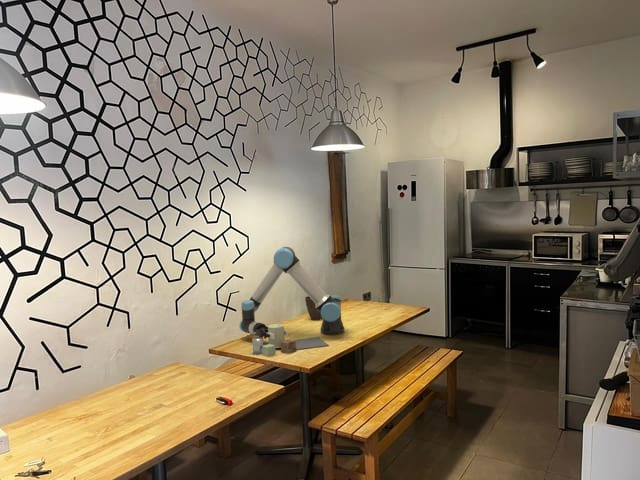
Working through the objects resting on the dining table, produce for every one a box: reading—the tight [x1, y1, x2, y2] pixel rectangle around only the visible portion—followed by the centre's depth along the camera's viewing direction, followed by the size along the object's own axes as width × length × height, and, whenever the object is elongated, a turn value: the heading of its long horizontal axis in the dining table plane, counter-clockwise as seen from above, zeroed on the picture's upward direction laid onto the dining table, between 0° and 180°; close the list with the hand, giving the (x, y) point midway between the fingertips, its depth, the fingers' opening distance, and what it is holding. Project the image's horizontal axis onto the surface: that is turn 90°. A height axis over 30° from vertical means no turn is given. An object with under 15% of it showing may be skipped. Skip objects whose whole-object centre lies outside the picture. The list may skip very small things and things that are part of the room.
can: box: [267, 323, 285, 349], centre depth 266 cm, size 9×9×12 cm
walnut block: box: [280, 338, 297, 355], centre depth 258 cm, size 6×6×6 cm
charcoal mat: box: [294, 336, 330, 351], centre depth 272 cm, size 20×20×1 cm
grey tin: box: [251, 336, 265, 356], centre depth 258 cm, size 6×6×8 cm
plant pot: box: [304, 295, 323, 321], centre depth 336 cm, size 15×15×16 cm
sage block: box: [261, 343, 277, 357], centre depth 254 cm, size 5×5×5 cm
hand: (280, 334), depth 263 cm, fingers closed on can, 9 cm apart
